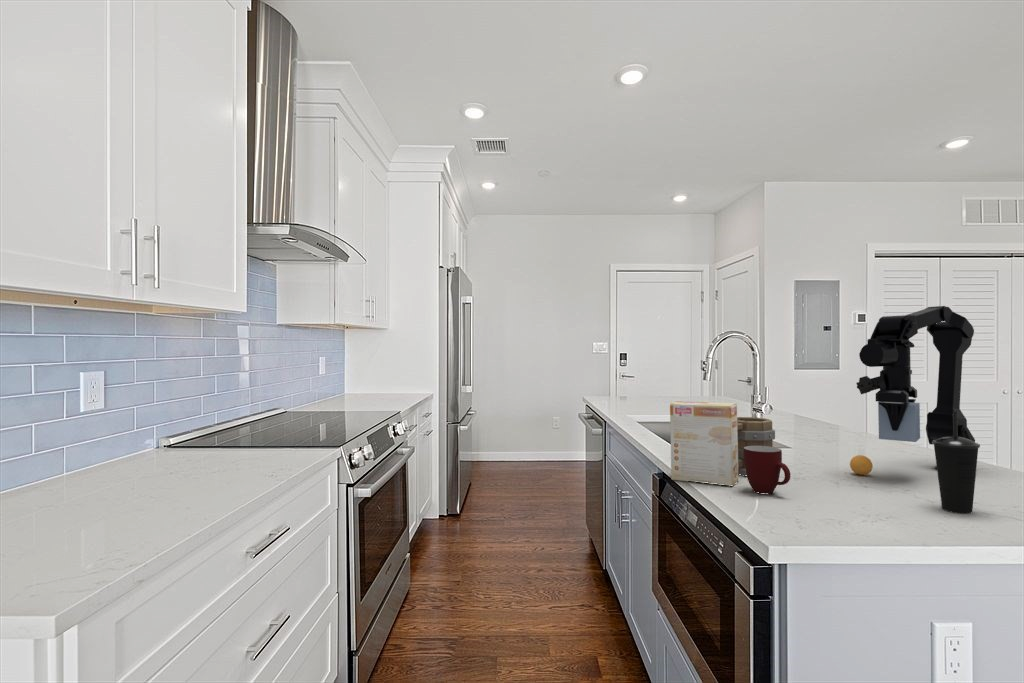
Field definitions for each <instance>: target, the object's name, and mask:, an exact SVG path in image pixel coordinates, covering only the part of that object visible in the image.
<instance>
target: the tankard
mask: <svg viewBox="0 0 1024 683" xmlns="http://www.w3.org/2000/svg"><path fill="white" fill-rule="evenodd" d="M737 433H738V474H741V475H747V474H746V469H745V463H744V447H746V446H769V447H773V445H774V444H773V441H774V440H775V439H776V430H775V429H773V421H772V420H771V419H769V418H765V417H755V416H754V417H753V416H737ZM741 475H740V476H741Z"/></svg>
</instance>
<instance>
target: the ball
mask: <svg viewBox="0 0 1024 683" xmlns="http://www.w3.org/2000/svg"><path fill="white" fill-rule="evenodd" d="M849 466H850V468H851V471H852V472H854V474H856V475H860V476H866V475H868V474H870V473H871V472H872V471H873V468H874V466H873V462H872V461H871V459H870V458H869V457H867V456H865V455H861V454H858V455H855V456H853V457H852V458H851V459H850V461H849Z"/></svg>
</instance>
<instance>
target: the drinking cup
mask: <svg viewBox="0 0 1024 683" xmlns="http://www.w3.org/2000/svg"><path fill="white" fill-rule="evenodd" d="M932 445H933V449H934V456H935V463H936V465H937V469H936V472H937V478H938V487H939V494H940V503H941V508H943V509H942V510H944V511H946V510H947V512H950V511H952V513H955V512H957V513H956V514H972V513H973V507H974V497H975V488H976V487H975V486H976V476H977V466H978V465H977V464H978V455H979V449H980V448H981V445H980V443H978V442H976V441H975V442H973V441H971V440H969V439H966V438H962V437H958V434H957V411H953V436H949V437H942V438H939V439H937V440H933V441H932ZM971 512H972V513H971Z"/></svg>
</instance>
